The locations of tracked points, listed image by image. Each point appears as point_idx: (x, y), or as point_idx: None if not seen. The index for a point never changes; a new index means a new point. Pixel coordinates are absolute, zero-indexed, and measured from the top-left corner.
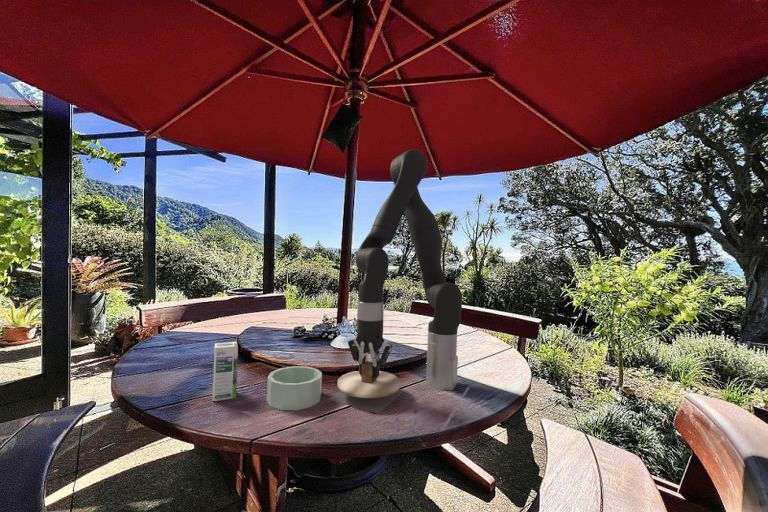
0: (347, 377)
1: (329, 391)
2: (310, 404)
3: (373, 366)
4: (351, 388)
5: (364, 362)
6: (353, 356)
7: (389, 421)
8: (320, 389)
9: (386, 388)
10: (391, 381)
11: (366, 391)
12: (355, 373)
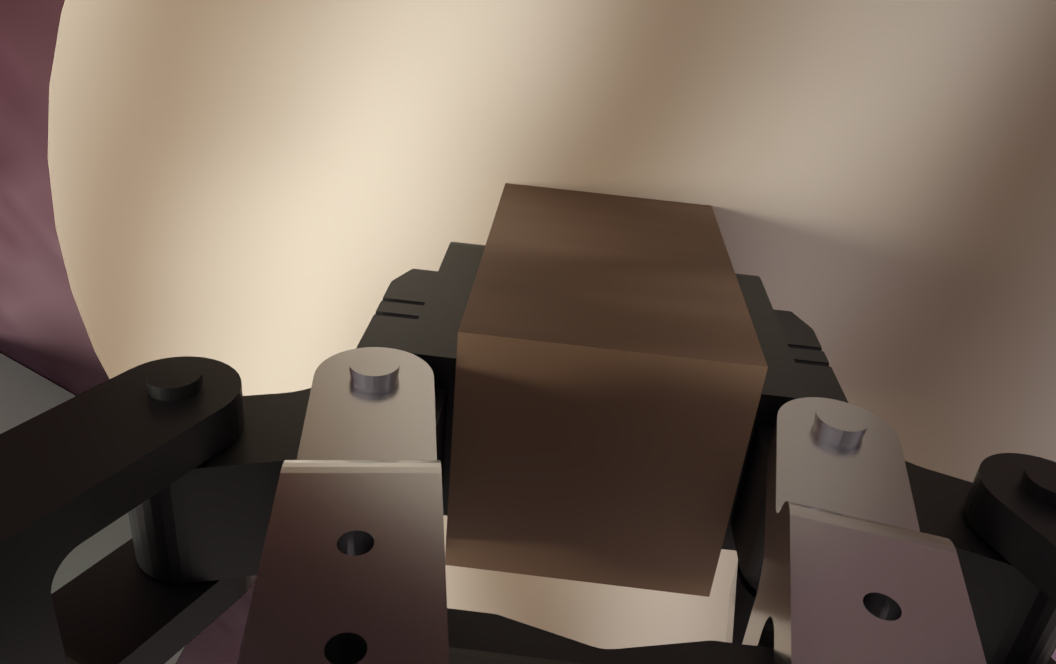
0: (189, 277)
1: (54, 226)
2: (179, 656)
3: (731, 538)
4: (469, 589)
5: (441, 440)
6: (126, 610)
7: None
8: (90, 560)
9: (954, 459)
10: (1012, 162)
11: (693, 612)
12: (190, 36)
